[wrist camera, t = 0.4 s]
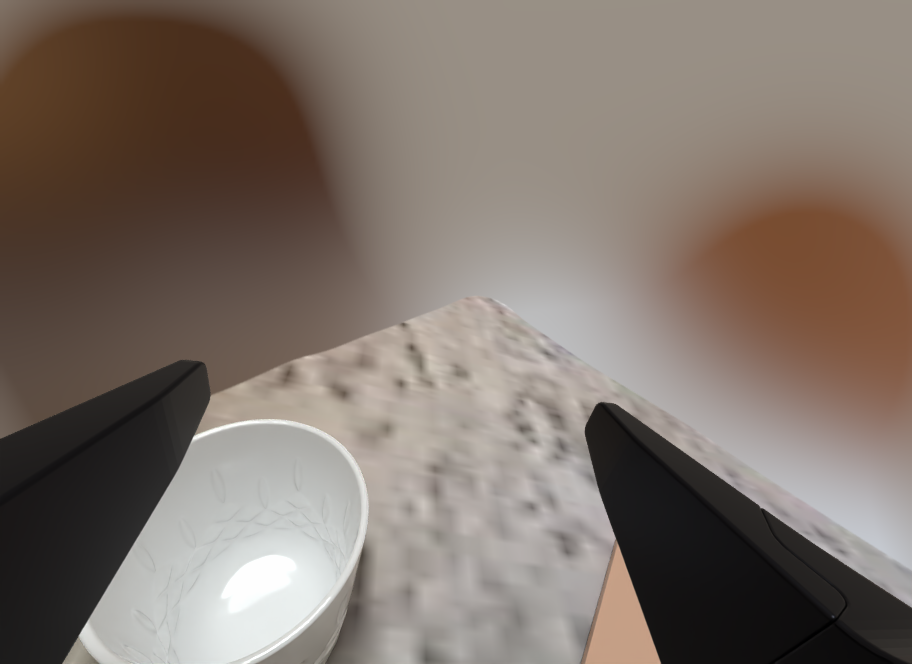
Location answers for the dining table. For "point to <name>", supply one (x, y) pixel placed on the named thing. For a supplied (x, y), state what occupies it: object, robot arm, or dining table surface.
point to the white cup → (241, 554)
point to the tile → (619, 622)
